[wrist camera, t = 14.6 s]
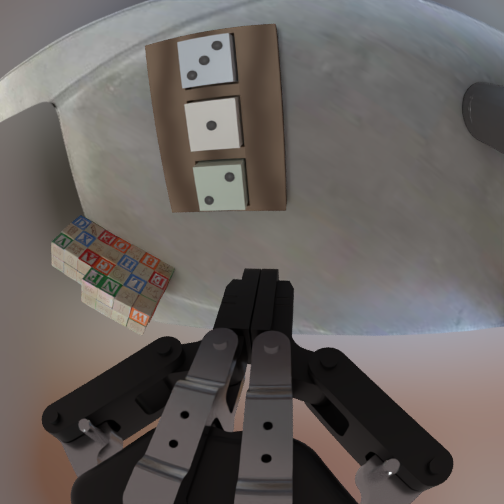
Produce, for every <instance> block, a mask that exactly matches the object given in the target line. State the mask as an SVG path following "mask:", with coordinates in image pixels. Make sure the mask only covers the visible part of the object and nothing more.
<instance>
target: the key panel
mask: <svg viewBox="0 0 504 504" xmlns="http://www.w3.org/2000/svg"><path fill="white" fill-rule="evenodd" d="M225 33H229V34H231V35H232V36H234V37H235V48H236V59H237V70H238V80H239V81H236V82H226V83H218V84H210V85H203V86H196V87H190V88H182V82H181V73H180V64H179V55H178V45H177V42H180V41H185V40H190V39H195V38H200V37H206V36H211V35H218V34H225ZM145 50H146V60H147V69H148V77H149V85H150V92H151V99H152V106H153V113H154V119H155V126H156V132H157V137H158V143H159V149H160V154H161V160H162V165H163V170H164V175H165V180H166V185H167V190H168V195H169V200H170V204H171V209H172V213H173V212H204V211H200V208H199V202H198V196H197V190H196V184H195V178H194V172H193V167H194V166H195V165H196V164H197V163H198V162H199V161H202V160H216V159H232V158H245V160H246V171H247V182H248V194H249V201H248V204H247V207H246V209H245V210H216V211H286V204H287V195H286V164H285V141H284V121H283V103H282V87H281V73H280V60H279V47H278V36H277V27H276V24H263V25H251V26H241V27H233V28H225V29H218V30H212V31H206V32H200V33H195V34H190V35H186V36H181V37H177V38H172V39H168V40H164V41H161V42H157V43H153V44H150V45H146V46H145ZM229 97H240V102H241V113H242V124H243V135H244V143H243V144H242V145H241V147H240V148H230V149H216V150H203V151H193V152H191V149H190V142H189V135H188V128H187V121H186V114H185V106H184V104H187V103H191V102H196V101H203V100H211V99H219V98H229Z"/></svg>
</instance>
